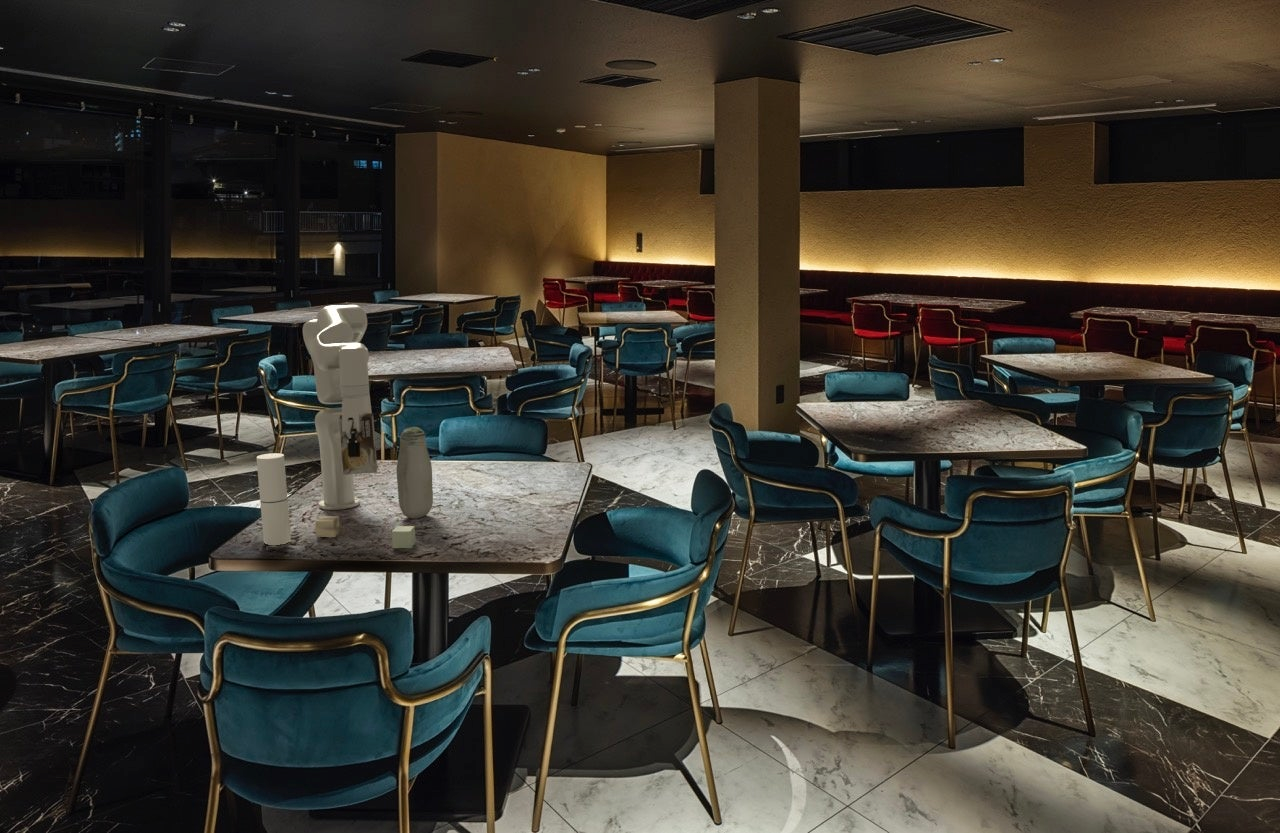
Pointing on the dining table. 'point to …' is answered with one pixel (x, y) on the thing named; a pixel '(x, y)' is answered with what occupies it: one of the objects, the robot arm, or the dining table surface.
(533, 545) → the dining table surface
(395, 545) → the sage block
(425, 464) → the grey bottle
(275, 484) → the cylindrical container
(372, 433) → the coffee box
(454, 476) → the dining table surface
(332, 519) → the birch block
